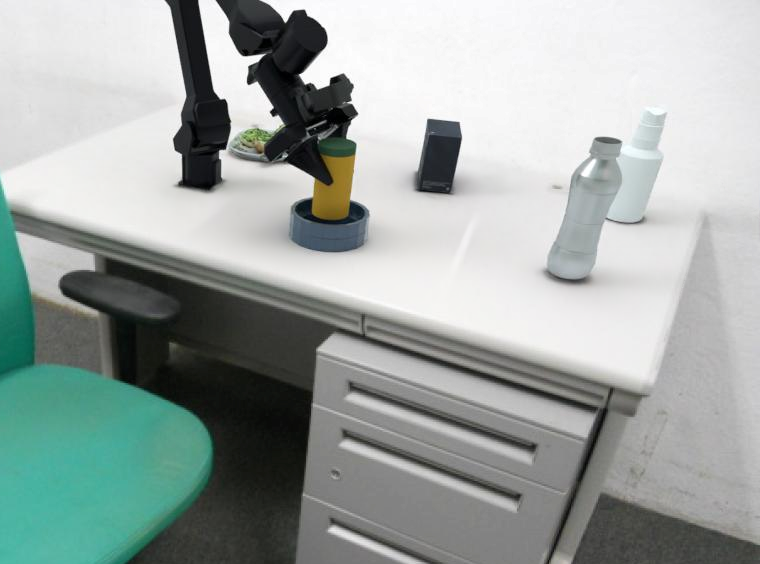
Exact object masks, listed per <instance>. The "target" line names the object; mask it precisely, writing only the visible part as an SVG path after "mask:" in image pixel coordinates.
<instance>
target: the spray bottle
mask: <svg viewBox="0 0 760 564" xmlns="http://www.w3.org/2000/svg"><path fill="white" fill-rule="evenodd" d="M668 113H669V111H668V109H665V108H662V107H657V106H646V107H644V110H643V112H642V115H641V118H640V120H638V122H637V126H636V129H635V133H634V134H633V137H632V140H631V143H629V144H627V145H624V146H623V147H621V150H620V152H621V153H620V156H619V157H617V158H616V161H617V163H618V165H619V167H620V170H621V173H622V184H621V186H620V189H619V190H618V193H617V195H616V197H615V199H614V201H613V203H612V205H611V207H610V209H609V211H608V214H607V217H606V219H609V220H611V221H614V222H619V223H638V222H640V221H641V220H642V219H643V217H644V215H645V212H646V209H647V206H648V204H649V201H650V197H651V194H652V192H653V189H654V186H655V183H656V181H657V177H658V174H659V172H660V169H661V166H662V163H663V161H664V156H665V155H664V153H663V152H662V151H661V150H660V148H658V147H659V144H660V141H661V137H662V135H663V131H664V128H665V120H666V119H667V115H668Z"/></svg>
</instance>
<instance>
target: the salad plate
mask: <svg viewBox="0 0 760 564" xmlns="http://www.w3.org/2000/svg"><path fill="white" fill-rule="evenodd" d="M282 127H285V125H284V123H282V124H281V125H279V127H278V128H276V129H275V130H272V129H271V130H270V129H265V128H259V127H254V128H249V129H243V130H242V131H239V132H237V134H236V135H235V136H234V138H232V140H230V141H229V142H228V144H227V147H228V148H229V150H230V151H231V152H232V153H234V154H235V155H236V156H238V157H240V158H241V159H244V160H248V161H254V162H255V161H256V162H263V163H269V161H268V159H267V158H266V156H265V155H264V144H265V143H266V142H267V141H268V140H269V139H271V138H272V137H273V136H274V135H275V134H276V133H277V132H278V131H279V130H280V129H281V128H282ZM319 140H321V139H320V138H319V137H318V141H319ZM286 151H287V150H286ZM286 151H285V152H284V153H282V158H281V159H280V160H278V161H275V162H274V163H277V162H283V160H284V159H285V158H286V157H287V156H288V155H287V153H286Z"/></svg>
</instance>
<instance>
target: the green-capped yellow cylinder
mask: <svg viewBox="0 0 760 564" xmlns="http://www.w3.org/2000/svg"><path fill="white" fill-rule="evenodd" d="M318 151H319V153H320V155H321V157H322V159H323V161H324V163H325V164H326V166H327V168H328V170H329V172H330V174H331V176H332V179H333V181H334V183H333V184H331V185H330V186H327V185H325V184H323V183H322V182H320V181H319V180H317V179H315V178H314V180H313V181H314V183H313V191H312V197H313V203H312V214H313V215H314V216H316V217H318V218H321V219H326V220H339V219H343V218H346V217H347V216H348V213H349V205H350V200H351V195H352V188H353V179H354V173H355V164H356V163H355V162H356V154H357V142H356V141H354V140H352V139H350V138H349V139H348V138H347V139H345V138H336V137H333V138H324V139H320V140H319V141H318ZM353 172H354V173H353Z"/></svg>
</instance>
